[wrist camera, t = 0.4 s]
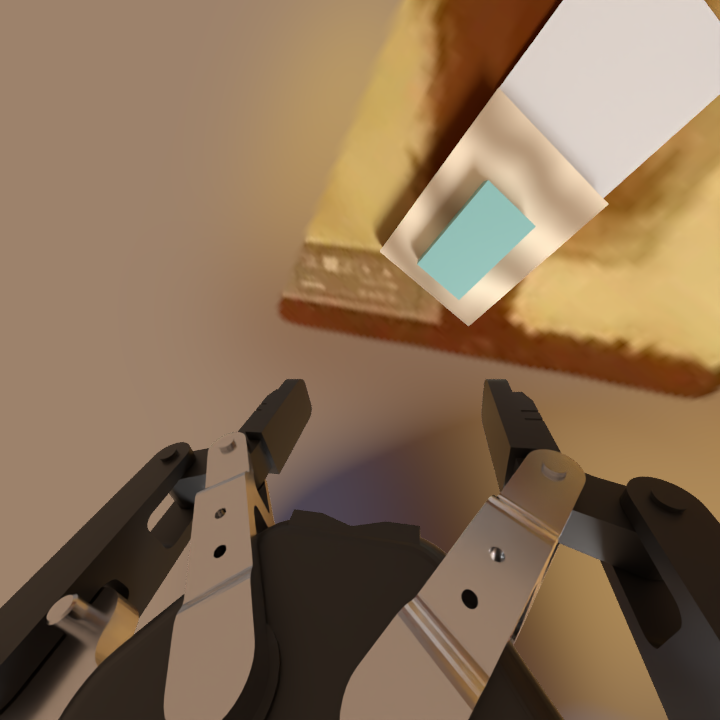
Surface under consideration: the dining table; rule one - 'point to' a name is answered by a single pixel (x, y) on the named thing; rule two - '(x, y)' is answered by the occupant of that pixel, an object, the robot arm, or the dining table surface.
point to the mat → (617, 80)
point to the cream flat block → (516, 182)
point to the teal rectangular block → (475, 240)
